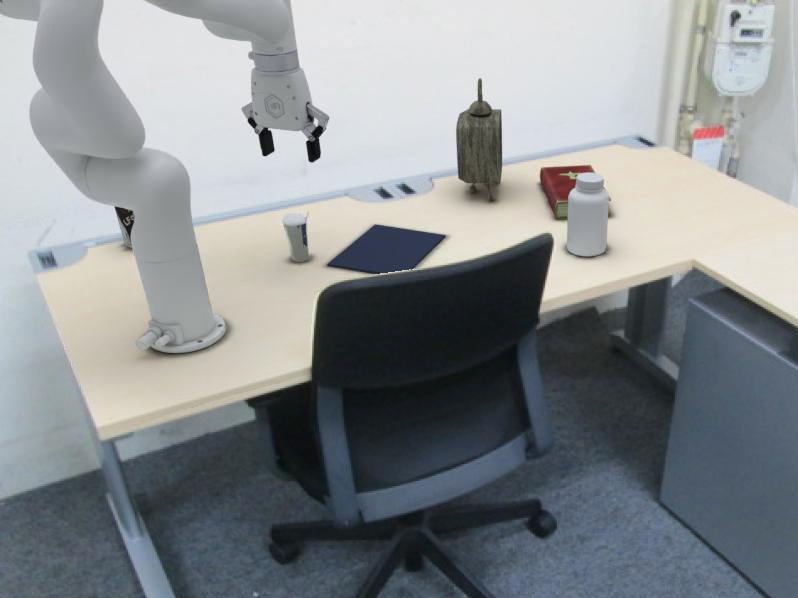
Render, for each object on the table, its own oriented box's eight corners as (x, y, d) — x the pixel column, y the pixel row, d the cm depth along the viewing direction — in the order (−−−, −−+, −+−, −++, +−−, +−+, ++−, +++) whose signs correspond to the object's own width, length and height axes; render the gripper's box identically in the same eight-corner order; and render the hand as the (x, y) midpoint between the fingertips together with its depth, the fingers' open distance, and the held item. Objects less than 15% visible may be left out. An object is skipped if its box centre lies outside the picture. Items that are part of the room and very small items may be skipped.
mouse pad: (402, 278, 169) (402, 276, 169) (327, 265, 173) (327, 263, 173) (445, 236, 185) (445, 234, 185) (375, 226, 189) (375, 224, 189)
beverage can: (125, 252, 178) (109, 194, 171) (125, 240, 182) (109, 183, 175) (156, 248, 179) (141, 190, 172) (155, 236, 184) (140, 180, 177)
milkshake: (310, 265, 173) (303, 216, 168) (284, 262, 174) (276, 214, 169) (320, 255, 177) (313, 207, 171) (294, 252, 178) (287, 204, 172)
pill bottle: (614, 248, 181) (618, 176, 172) (588, 261, 176) (591, 187, 167) (584, 237, 185) (587, 166, 177) (558, 249, 180) (560, 177, 172)
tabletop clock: (499, 204, 199) (497, 89, 185) (458, 204, 199) (453, 88, 185) (502, 180, 211) (500, 70, 197) (464, 180, 211) (459, 70, 197)
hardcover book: (555, 219, 193) (555, 200, 190) (539, 183, 210) (539, 166, 207) (609, 216, 194) (611, 197, 192) (590, 181, 211) (590, 163, 209)
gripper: (221, 61, 156) (239, 158, 166) (309, 71, 151) (322, 169, 161) (246, 51, 162) (262, 145, 172) (331, 60, 157) (343, 155, 167)
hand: (291, 157), depth 166 cm, fingers open, 9 cm apart
